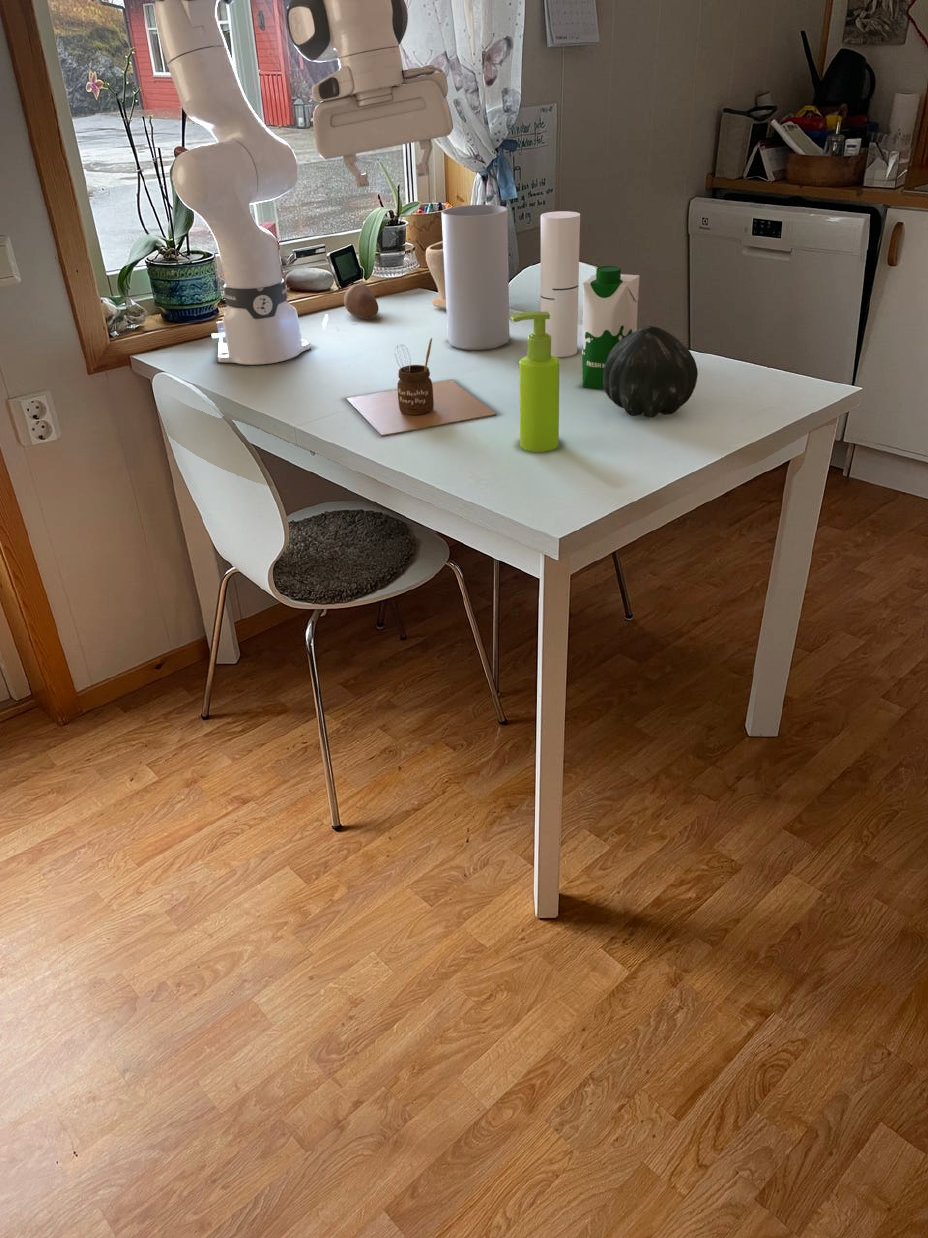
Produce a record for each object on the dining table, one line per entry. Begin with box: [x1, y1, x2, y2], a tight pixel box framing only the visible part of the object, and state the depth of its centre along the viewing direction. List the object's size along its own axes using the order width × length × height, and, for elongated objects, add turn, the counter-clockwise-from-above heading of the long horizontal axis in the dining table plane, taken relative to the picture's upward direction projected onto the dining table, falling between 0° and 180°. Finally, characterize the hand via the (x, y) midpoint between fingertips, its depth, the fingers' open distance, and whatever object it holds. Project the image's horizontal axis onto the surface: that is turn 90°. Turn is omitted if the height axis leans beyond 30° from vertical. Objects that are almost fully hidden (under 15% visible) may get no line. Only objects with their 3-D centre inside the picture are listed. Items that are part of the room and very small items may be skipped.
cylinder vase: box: [441, 204, 510, 351], centre depth 188 cm, size 12×12×25 cm
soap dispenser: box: [510, 310, 561, 453], centre depth 142 cm, size 6×7×20 cm
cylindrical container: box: [539, 210, 581, 358], centre depth 181 cm, size 7×7×25 cm
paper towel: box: [345, 379, 497, 437], centre depth 164 cm, size 20×20×1 cm
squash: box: [603, 325, 699, 419], centre depth 155 cm, size 14×15×15 cm
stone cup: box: [425, 240, 446, 310], centre depth 213 cm, size 15×12×15 cm
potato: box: [343, 283, 379, 320], centre depth 214 cm, size 7×10×7 cm
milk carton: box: [581, 265, 641, 390], centre depth 165 cm, size 9×9×20 cm
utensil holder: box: [394, 337, 434, 415], centre depth 159 cm, size 6×6×12 cm
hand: (393, 181), depth 143 cm, fingers open, 8 cm apart
